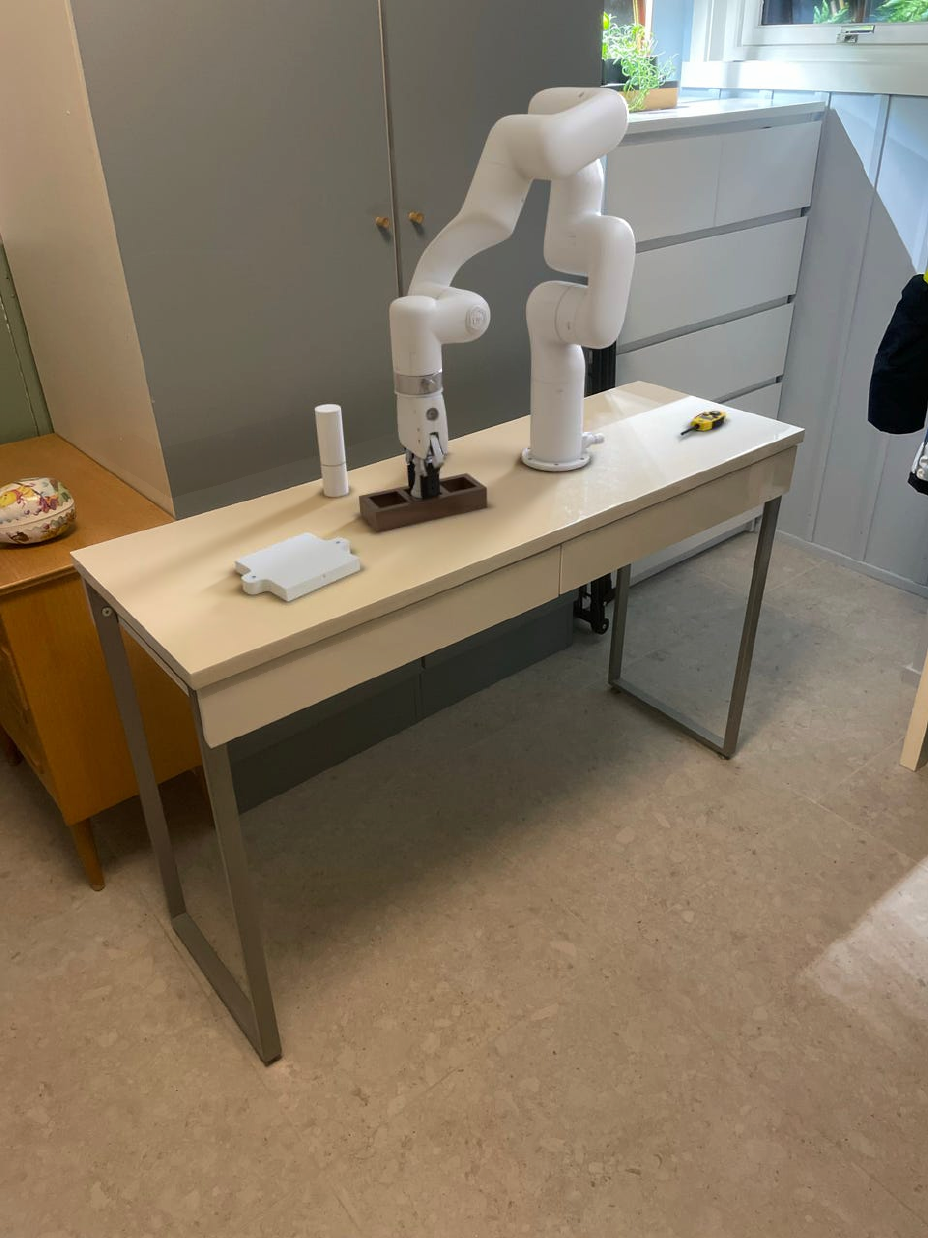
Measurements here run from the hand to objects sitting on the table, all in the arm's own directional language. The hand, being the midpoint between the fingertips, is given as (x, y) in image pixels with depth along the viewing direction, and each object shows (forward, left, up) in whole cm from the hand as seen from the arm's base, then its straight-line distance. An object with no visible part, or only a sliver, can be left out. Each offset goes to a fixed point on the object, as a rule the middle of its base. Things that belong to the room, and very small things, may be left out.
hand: (424, 490), depth 152 cm
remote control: (-65, -9, -4) cm, 66 cm away
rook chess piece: (0, 0, -2) cm, 2 cm away
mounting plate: (+25, +10, -4) cm, 27 cm away
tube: (+10, -15, -4) cm, 18 cm away
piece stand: (0, 0, -4) cm, 4 cm away
